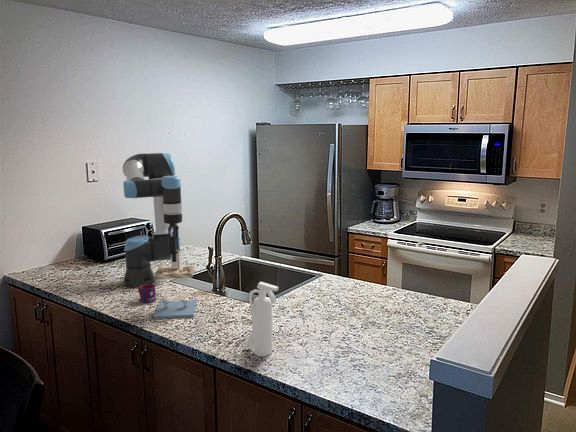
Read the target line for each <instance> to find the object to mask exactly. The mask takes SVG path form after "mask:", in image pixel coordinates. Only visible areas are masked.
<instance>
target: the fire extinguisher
mask: <svg viewBox="0 0 576 432" xmlns="http://www.w3.org/2000/svg"><path fill="white" fill-rule="evenodd" d="M277 291H279V286H277V285H274V284H270V283H267V282H264V281H259V282H258V283H257V286H256V289H253V290H251V291H249V296H248V300H249V301H248V302H249V306H250V317H251V329H252V330H251V333H250V334H249V335H248V336H247V339H246V341H245V345H246V347H247V348H253V354H254V355H255V356H258V357H268V356H270V355H272V353H273V352H274V351H273V344H274V343H273V304H274V303H276V302H277V297H276V295H275V293H274V292H277ZM255 293H257V294H258V297H257V296H256V297H255V298H254V299H253V301H252V297H253V294H255ZM267 296H268V297H267ZM272 351H273V352H272ZM267 355H268V356H267Z"/></svg>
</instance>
